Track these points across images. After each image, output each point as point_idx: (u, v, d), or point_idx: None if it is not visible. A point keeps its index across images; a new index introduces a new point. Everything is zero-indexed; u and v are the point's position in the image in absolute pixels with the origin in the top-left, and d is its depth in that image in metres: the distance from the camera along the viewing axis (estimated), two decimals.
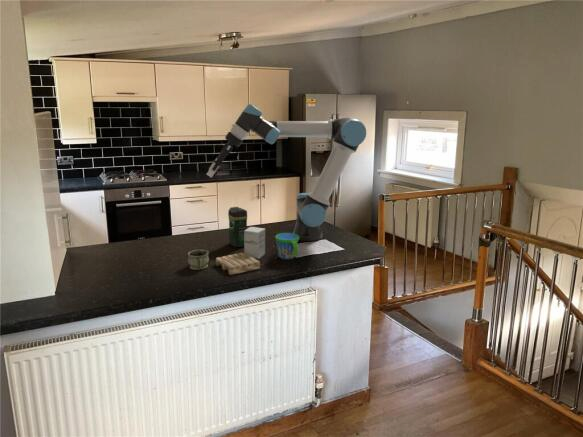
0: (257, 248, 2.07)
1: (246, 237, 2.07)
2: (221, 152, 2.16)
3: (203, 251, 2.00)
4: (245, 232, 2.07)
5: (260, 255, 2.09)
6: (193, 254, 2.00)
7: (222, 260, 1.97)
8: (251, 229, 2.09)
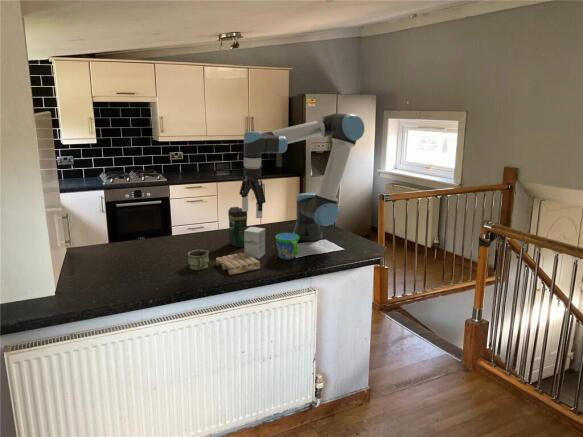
0: (257, 248, 2.07)
1: (246, 237, 2.07)
2: (245, 190, 2.08)
3: (203, 251, 2.00)
4: (245, 232, 2.07)
5: (260, 255, 2.09)
6: (193, 254, 2.00)
7: (222, 260, 1.97)
8: (251, 229, 2.09)
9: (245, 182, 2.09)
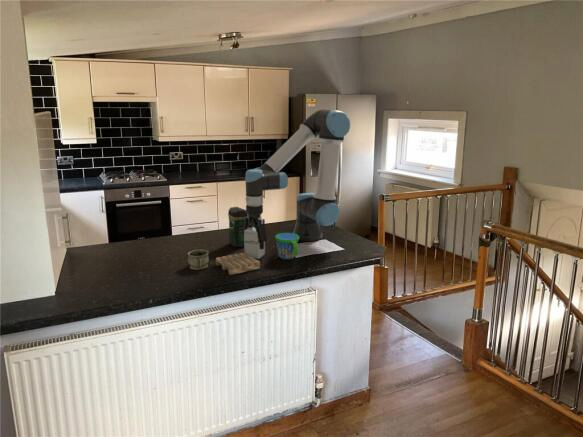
0: (257, 248, 2.07)
1: (246, 237, 2.07)
2: (249, 227, 2.11)
3: (203, 251, 2.00)
4: (245, 232, 2.07)
5: None
6: (193, 254, 2.00)
7: (222, 260, 1.97)
8: (251, 229, 2.09)
9: (248, 219, 2.12)
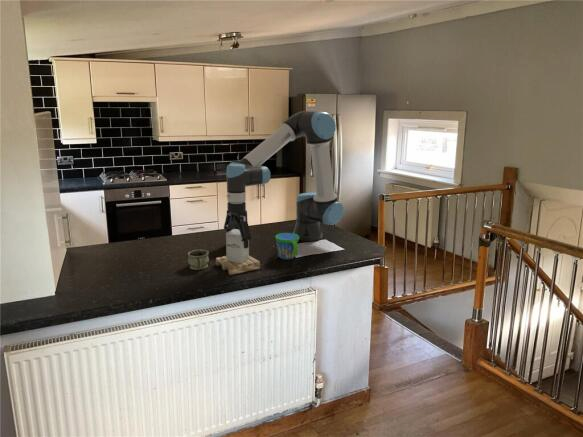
0: (239, 252, 1.92)
1: (228, 240, 1.93)
2: (230, 224, 1.97)
3: (203, 251, 2.00)
4: (227, 235, 1.93)
5: (243, 259, 1.95)
6: (193, 254, 2.00)
7: (222, 260, 1.97)
8: (233, 231, 1.94)
9: (229, 216, 1.98)
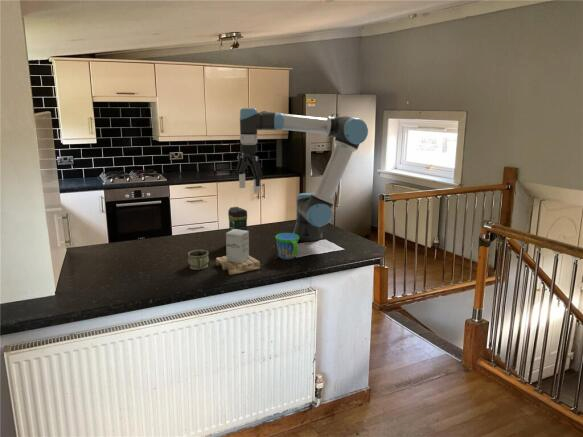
0: (239, 252, 1.92)
1: (228, 240, 1.93)
2: (242, 166, 2.12)
3: (203, 251, 2.00)
4: (227, 235, 1.93)
5: (243, 259, 1.95)
6: (193, 254, 2.00)
7: (222, 260, 1.97)
8: (233, 231, 1.94)
9: (242, 159, 2.13)
